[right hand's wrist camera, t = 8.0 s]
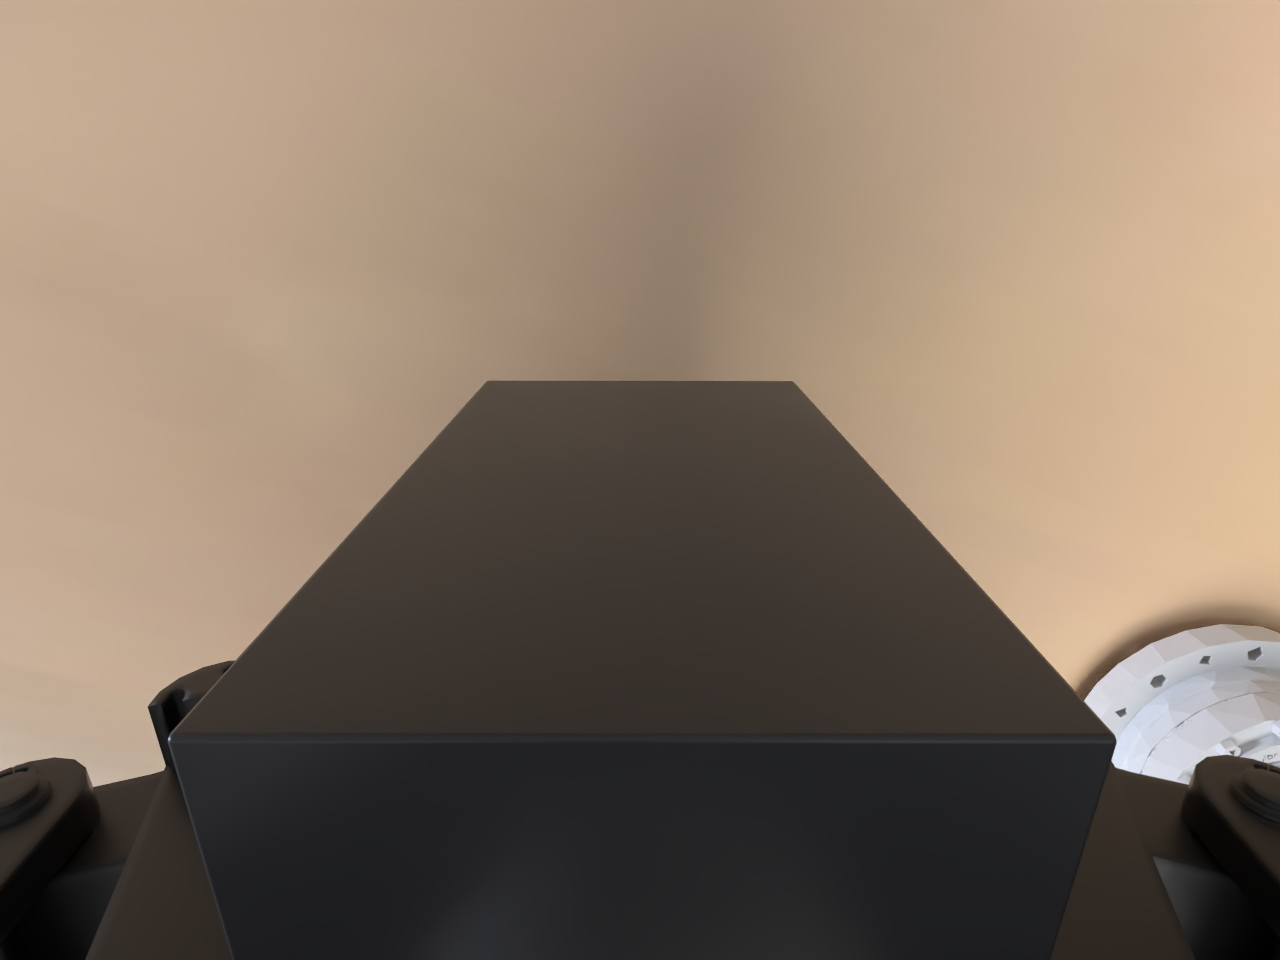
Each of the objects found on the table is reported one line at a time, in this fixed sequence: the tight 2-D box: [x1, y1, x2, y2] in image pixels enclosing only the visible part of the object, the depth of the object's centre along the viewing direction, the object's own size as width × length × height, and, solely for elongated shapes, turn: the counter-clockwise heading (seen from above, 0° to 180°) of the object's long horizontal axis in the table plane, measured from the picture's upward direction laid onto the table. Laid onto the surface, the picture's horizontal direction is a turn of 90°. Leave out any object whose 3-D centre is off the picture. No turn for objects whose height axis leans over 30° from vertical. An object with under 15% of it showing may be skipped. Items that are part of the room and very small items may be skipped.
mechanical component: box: [1084, 624, 1280, 785], centre depth 26 cm, size 10×4×10 cm
